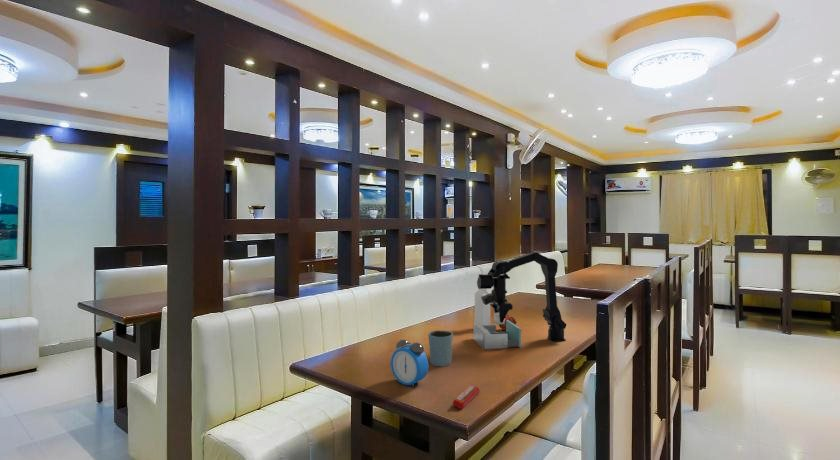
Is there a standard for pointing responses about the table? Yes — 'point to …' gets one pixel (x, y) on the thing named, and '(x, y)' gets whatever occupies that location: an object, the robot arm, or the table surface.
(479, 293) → the milk
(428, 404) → the table surface
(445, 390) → the table surface
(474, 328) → the dock
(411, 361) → the alarm clock
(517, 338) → the drawer
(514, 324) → the dragon fruit
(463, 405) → the candy bar
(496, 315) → the grey rounded tapered piece
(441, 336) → the grey-green cup
